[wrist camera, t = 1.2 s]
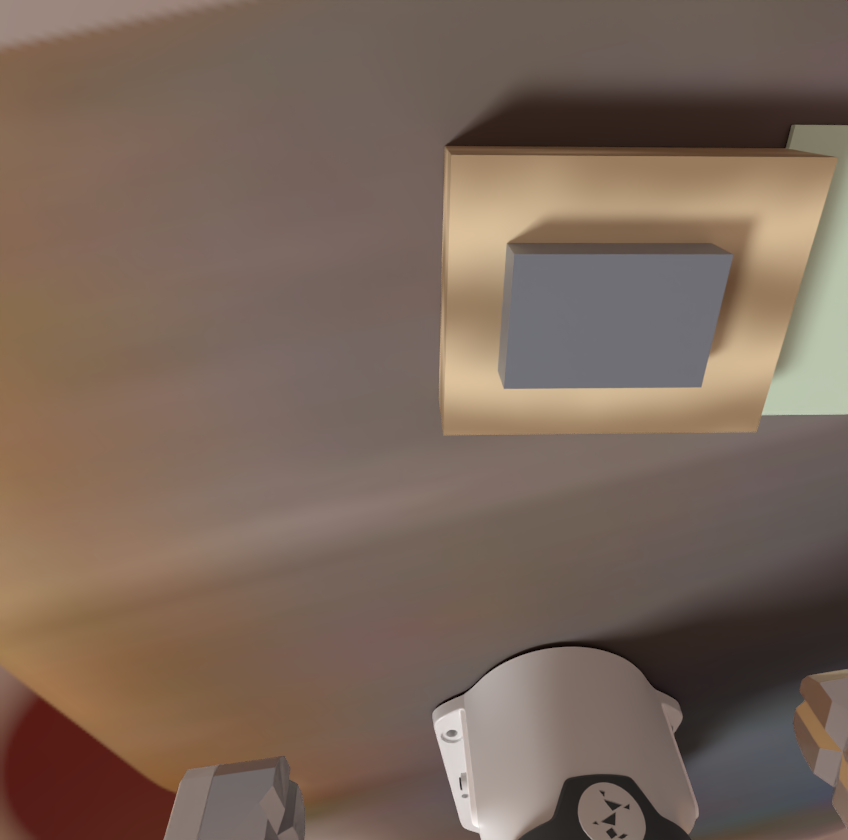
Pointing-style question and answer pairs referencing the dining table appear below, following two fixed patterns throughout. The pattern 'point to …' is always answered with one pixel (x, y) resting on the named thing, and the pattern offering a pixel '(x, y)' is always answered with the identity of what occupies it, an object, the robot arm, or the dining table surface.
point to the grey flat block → (609, 314)
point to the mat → (818, 298)
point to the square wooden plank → (624, 223)
